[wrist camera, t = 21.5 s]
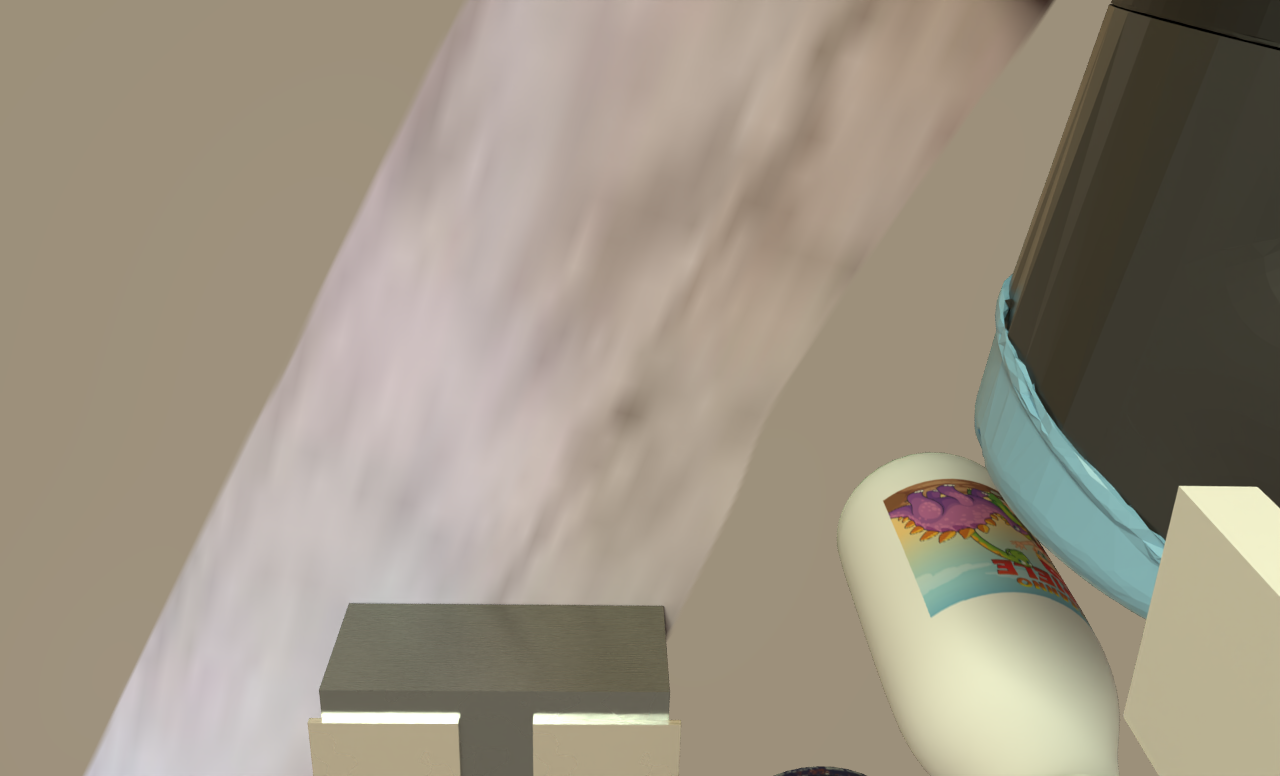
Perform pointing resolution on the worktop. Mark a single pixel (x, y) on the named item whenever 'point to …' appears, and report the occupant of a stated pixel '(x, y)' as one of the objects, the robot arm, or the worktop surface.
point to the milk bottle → (974, 627)
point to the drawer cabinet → (497, 692)
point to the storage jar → (820, 772)
